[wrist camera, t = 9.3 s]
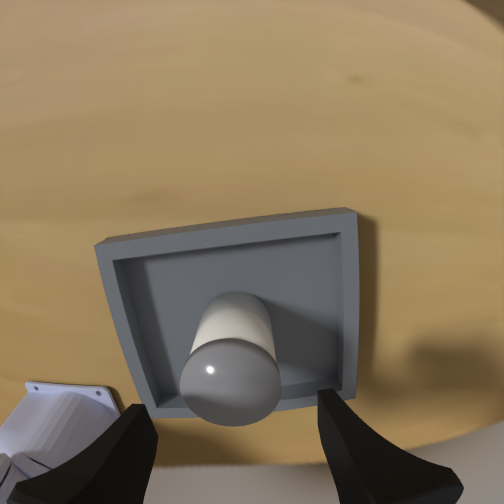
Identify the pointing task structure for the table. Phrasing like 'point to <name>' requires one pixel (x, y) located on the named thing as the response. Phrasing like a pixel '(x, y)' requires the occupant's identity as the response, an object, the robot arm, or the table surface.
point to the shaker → (232, 363)
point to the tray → (245, 280)
